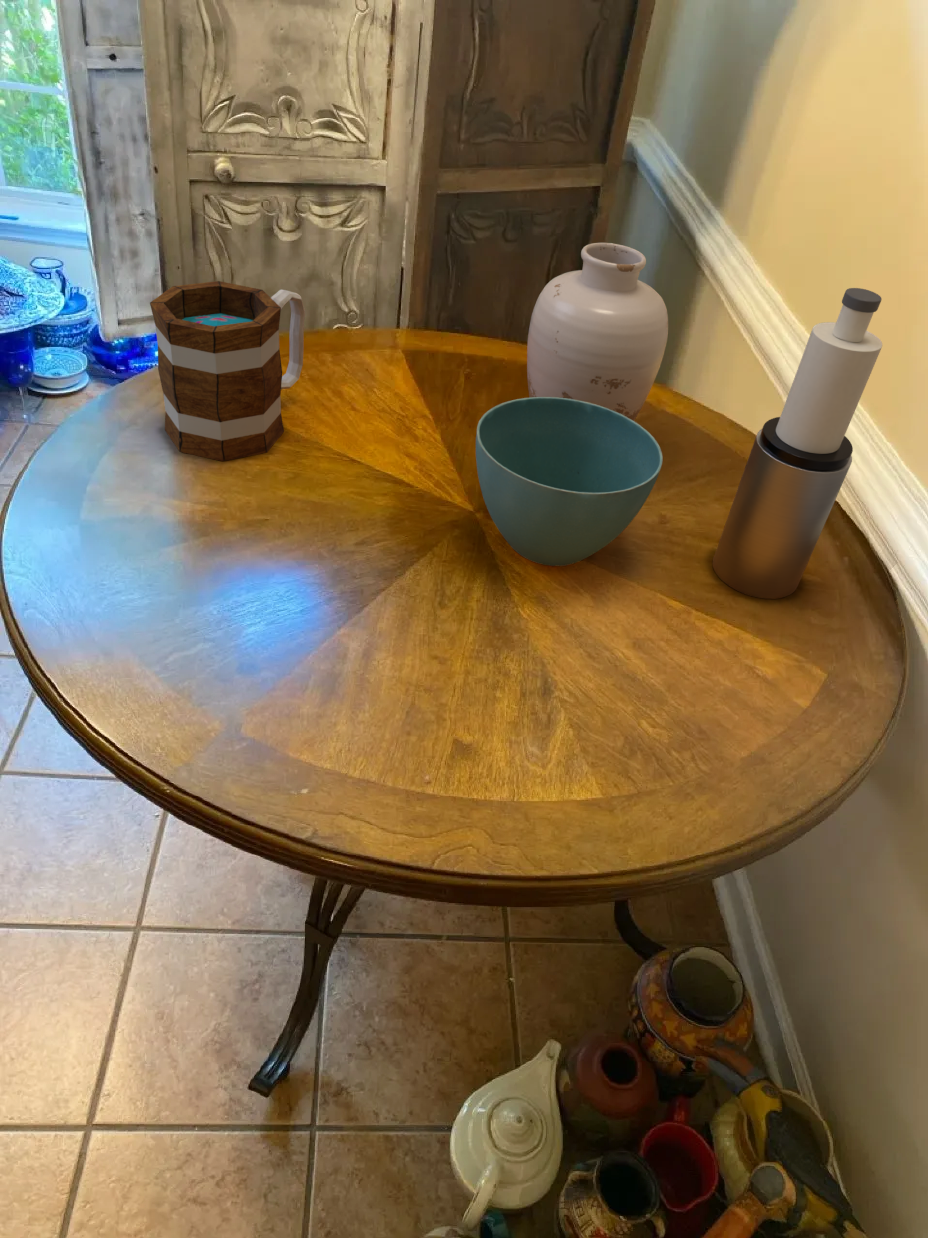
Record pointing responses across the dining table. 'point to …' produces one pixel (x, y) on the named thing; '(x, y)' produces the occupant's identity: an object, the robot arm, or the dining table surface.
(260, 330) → the mug
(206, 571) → the dining table surface
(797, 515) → the metal canister
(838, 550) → the dining table surface
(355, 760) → the dining table surface
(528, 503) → the plant pot
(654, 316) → the vase
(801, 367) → the bottle
